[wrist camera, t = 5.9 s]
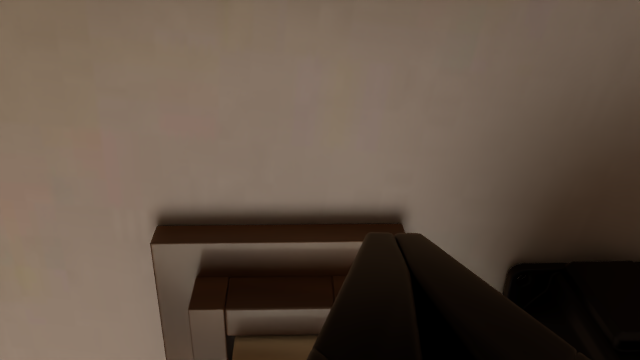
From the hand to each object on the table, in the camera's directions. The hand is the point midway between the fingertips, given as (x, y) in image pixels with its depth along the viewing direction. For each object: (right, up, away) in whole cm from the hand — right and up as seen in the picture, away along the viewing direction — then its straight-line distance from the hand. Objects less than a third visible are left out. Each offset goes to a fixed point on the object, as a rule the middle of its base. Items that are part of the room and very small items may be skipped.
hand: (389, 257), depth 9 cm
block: (-3, -4, +14) cm, 15 cm away
